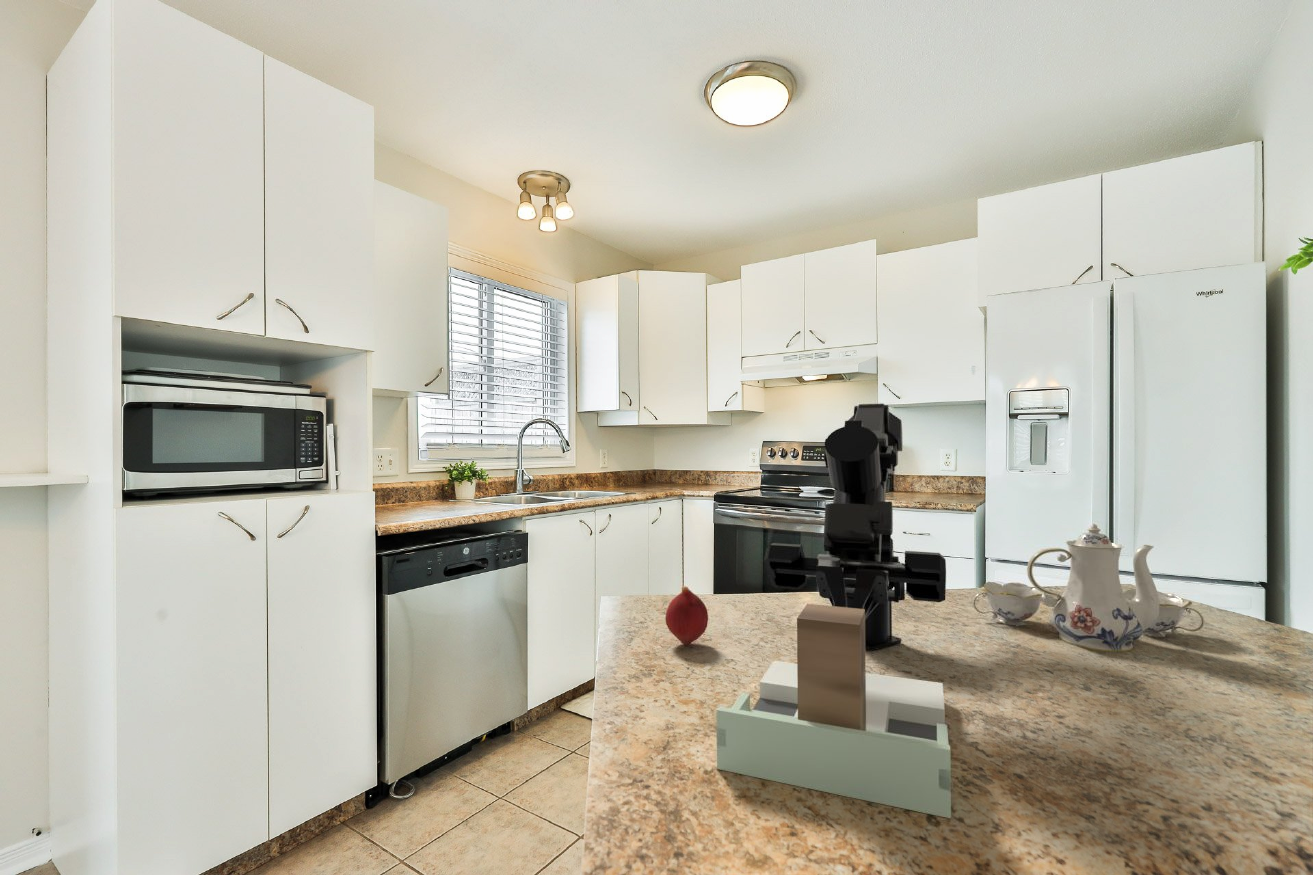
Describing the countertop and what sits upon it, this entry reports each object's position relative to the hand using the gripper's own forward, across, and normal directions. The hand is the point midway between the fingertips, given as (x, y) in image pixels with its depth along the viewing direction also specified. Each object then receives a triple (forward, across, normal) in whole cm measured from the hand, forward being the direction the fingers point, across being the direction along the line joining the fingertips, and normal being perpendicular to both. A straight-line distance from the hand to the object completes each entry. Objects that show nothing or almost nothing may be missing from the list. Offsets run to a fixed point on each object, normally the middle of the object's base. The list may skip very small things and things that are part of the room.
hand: (846, 641), depth 63 cm
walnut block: (+12, 0, -4) cm, 12 cm away
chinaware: (-22, +29, +34) cm, 49 cm away
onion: (-4, -23, +15) cm, 28 cm away
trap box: (+9, 0, +1) cm, 9 cm away
